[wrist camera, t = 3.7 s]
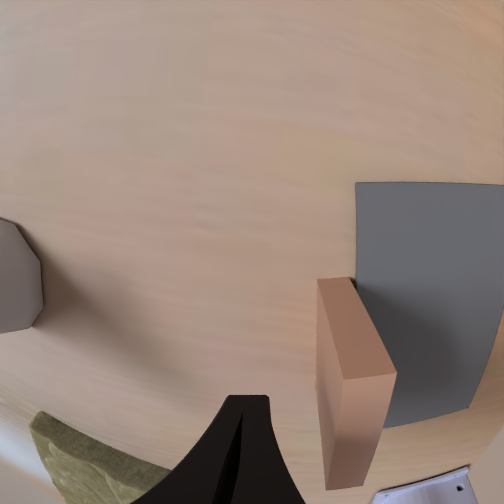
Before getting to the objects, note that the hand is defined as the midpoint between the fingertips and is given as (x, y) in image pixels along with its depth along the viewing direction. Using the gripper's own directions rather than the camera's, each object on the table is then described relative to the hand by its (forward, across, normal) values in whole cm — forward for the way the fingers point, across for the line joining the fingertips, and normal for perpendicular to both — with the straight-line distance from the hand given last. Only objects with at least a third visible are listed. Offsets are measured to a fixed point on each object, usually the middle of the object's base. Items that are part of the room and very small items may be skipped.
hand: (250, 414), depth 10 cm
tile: (+5, -3, 0) cm, 6 cm away
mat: (+5, -9, 0) cm, 10 cm away
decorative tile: (+5, +14, +21) cm, 26 cm away
